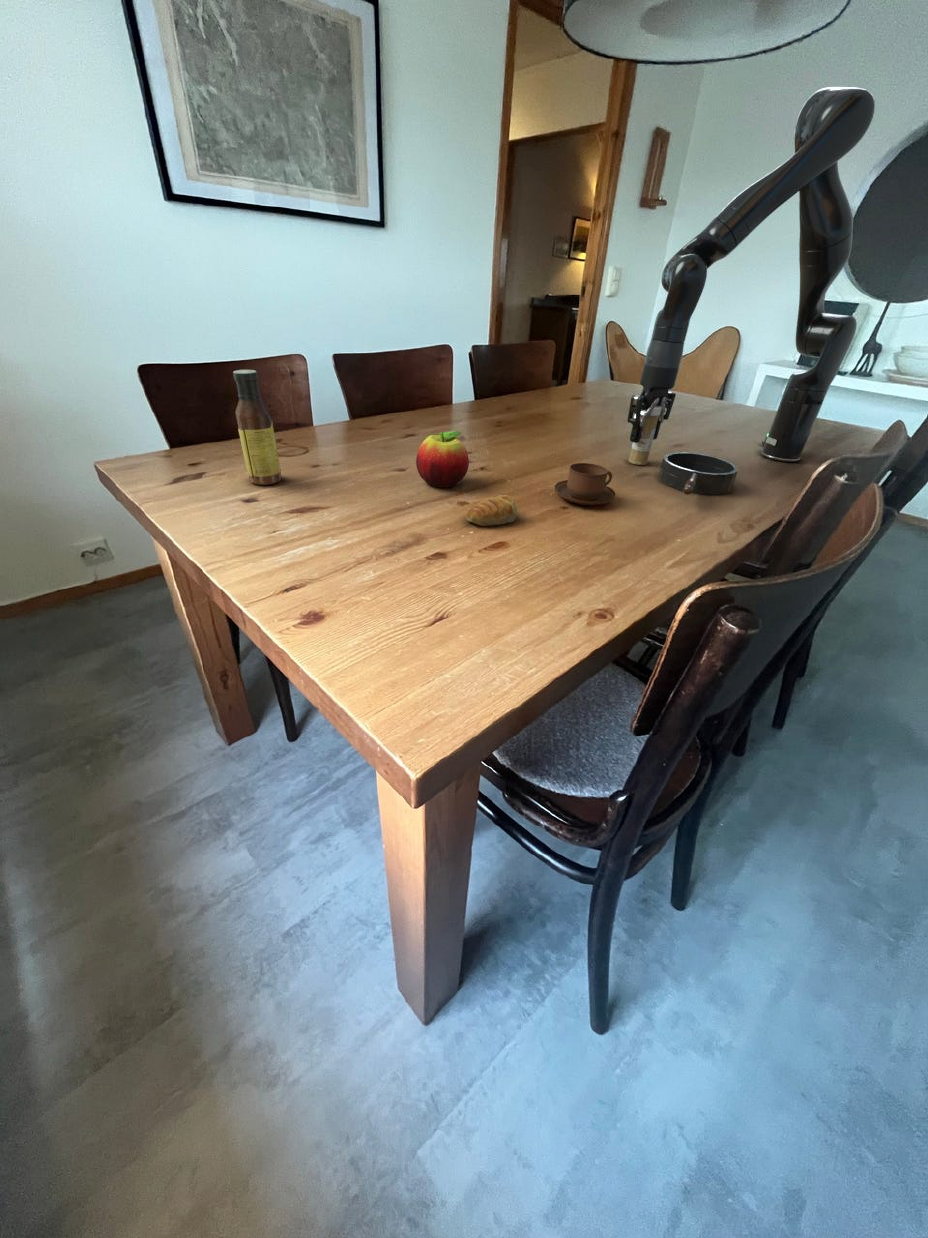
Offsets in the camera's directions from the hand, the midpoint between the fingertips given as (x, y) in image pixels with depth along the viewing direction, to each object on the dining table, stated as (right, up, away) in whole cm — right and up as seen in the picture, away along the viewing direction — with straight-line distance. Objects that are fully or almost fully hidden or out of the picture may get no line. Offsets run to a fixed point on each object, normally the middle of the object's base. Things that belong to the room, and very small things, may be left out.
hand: (643, 440), depth 125 cm
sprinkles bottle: (0, -5, +3) cm, 6 cm away
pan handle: (+3, -16, -18) cm, 24 cm away
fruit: (-47, -15, -17) cm, 52 cm away
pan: (+9, -12, -7) cm, 16 cm away
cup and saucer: (-19, -19, -20) cm, 33 cm away
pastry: (-38, -25, -31) cm, 55 cm away
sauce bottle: (-82, -16, -21) cm, 87 cm away
